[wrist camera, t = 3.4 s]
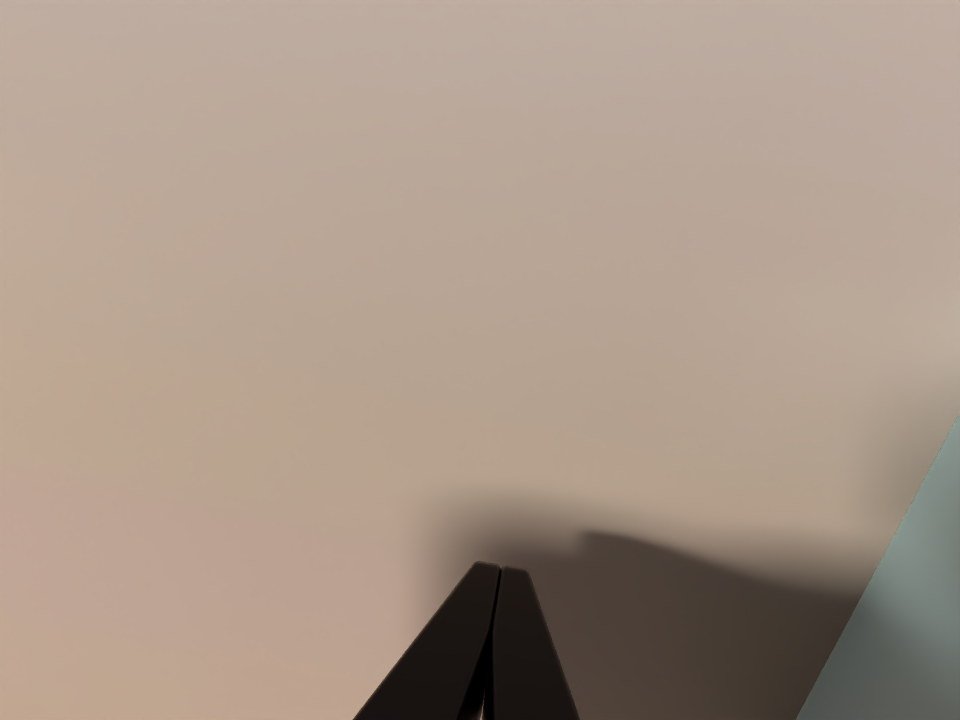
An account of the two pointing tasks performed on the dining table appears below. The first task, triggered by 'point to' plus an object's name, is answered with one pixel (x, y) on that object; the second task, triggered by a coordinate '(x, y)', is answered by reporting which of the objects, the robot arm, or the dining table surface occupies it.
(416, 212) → the dining table surface
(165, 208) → the dining table surface
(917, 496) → the teal carton
